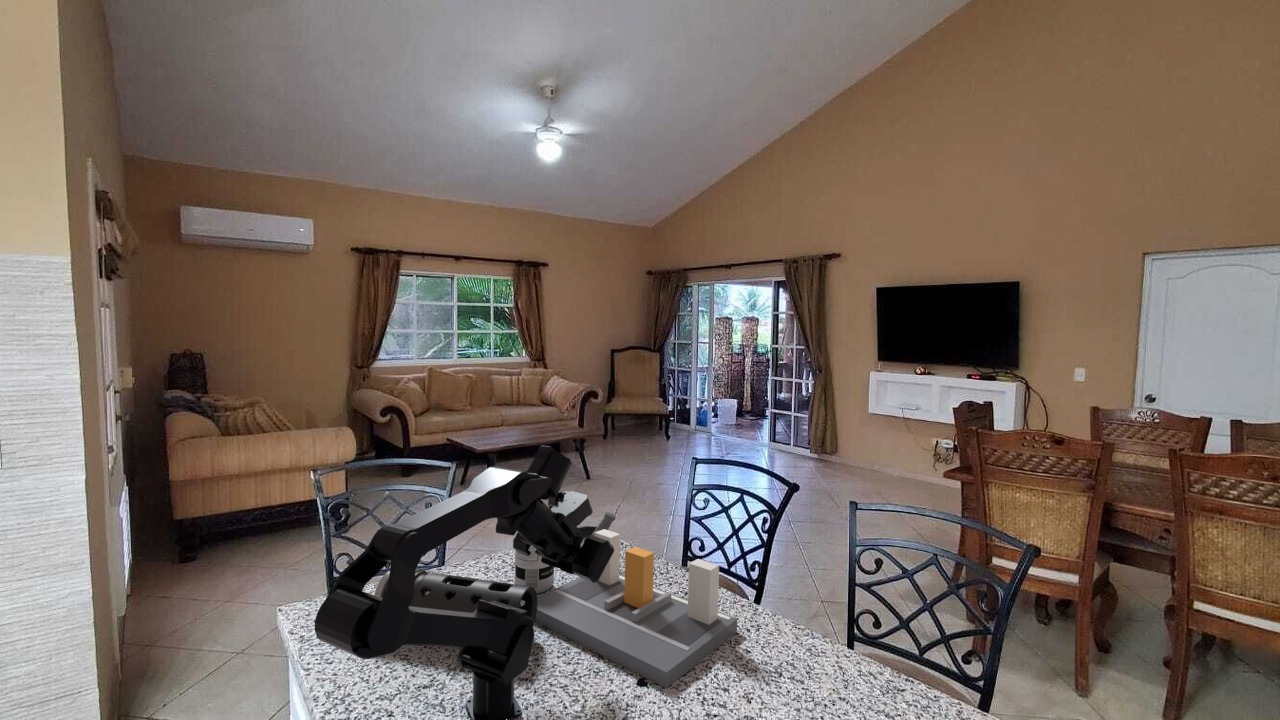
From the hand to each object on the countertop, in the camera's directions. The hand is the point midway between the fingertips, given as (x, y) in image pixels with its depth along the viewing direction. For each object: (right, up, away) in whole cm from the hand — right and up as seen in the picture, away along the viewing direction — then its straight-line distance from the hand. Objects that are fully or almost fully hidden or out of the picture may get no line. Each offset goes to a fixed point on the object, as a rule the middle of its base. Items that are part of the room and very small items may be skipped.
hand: (585, 571), depth 95 cm
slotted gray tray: (+7, -13, +9) cm, 18 cm away
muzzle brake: (-24, -13, +5) cm, 28 cm away
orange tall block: (+9, -11, +12) cm, 18 cm away
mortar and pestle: (-2, -12, +39) cm, 41 cm away
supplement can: (-13, -13, +24) cm, 30 cm away
